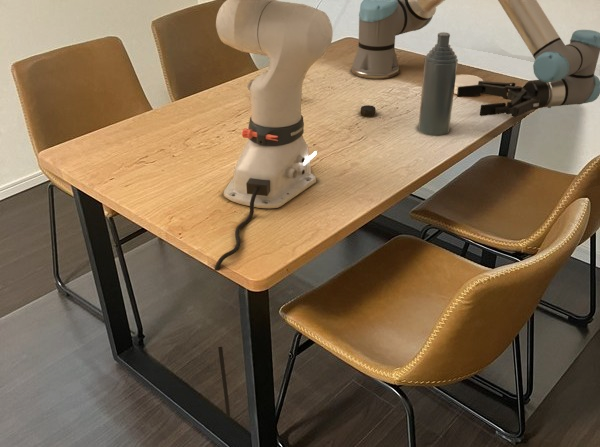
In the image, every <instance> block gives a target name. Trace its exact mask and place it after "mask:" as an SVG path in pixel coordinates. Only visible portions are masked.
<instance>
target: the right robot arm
mask: <svg viewBox="0 0 600 447" xmlns="http://www.w3.org/2000/svg"><path fill="white" fill-rule="evenodd" d="M445 1H446V0H362V1H361V3H360V4H359V5H360V6H359V11H358V45H357V46H358V47H357V50H356V54H355V56H354V59H353V62H352V65H351V72H352V74H353V75H355V76H357V77H359V78H363V79H369V80H370V79H371V80H384V79H390V78H392V77H395V76H397V75H398V74H399V71H400V66H399V65H400V64H399V62H398V57H397V53H396V50H395V48H396V47H395V45H396V36H399V35H404V34H407V33H410V32H414V31H415V32H416V31H419V30H421V29H424V28H425V27H426V26H428V25H429V24H430V22H431V21H432V19H433V16H435V14H436V11H437V8H438V7H439V6H440V5H441V4H443V3H444V2H445ZM497 1H498V3H499V4H500V6H501V7H502V9H503V11H504V12H505V14H506V16H507V17H508V19H509V20H510V22H511V24H512V25H513V26H514V29H515V30H516V32H517V33H518V35H519V37H520V39H521V40H522V41H523V43H524V44H525V46H526V47H527V49H528V50H529V52H530V54H531V55H532V57H533V59H534V61H533V65H532V68H533V69H532V70H533V74H534V76H535V77H536V79H532V80H528V81H527V82H526V83H525V84H524V85H523V86H519V85H516V82H500V81H499V82H498V81H484V80H483V81H479V82H478V85H472V86H461V87H458V92H457V94H456V97H457V98H465V97H475V96H477V97H480V96H481V95H487V96H494V97H500V98H502V99H503V100H508V101H507V103H506V102H497V103H496V102H495V103H488V104H487V103H486V104H480V109H479V116H480V117H485V116H495V115H503V114H505V115H507V116H508V115H511V117H512V118H517V117H520V116H521V115H524V114H525V113H528V112H531V111H535V110H538V109H542V108H548V109H551V108H552V107H561V106H572V105H573V106H574V105H583V104H584V105H585V104H589V103H593V102H594V101H596V100H597V99H598V98H599V97H600V78H599V77H598V76H597V75H595V72H596V69H597V65H598V61H599V56H600V32H599V31H596V30H592V29H577V30H575V31H574V32H572V34H571V38H570V39H569V43H567V44H565V43H564V41H563V39H562V38H561V36H560V35H559V34H558V32H557V30H556V29H555V27H554V26H553V24H552V23H551V21H550V19H549V18H548V16H547V15H546V13H545V11H544V10H543V8H542V7H541V4H540V3H539V2H538V1H537V0H497Z"/></svg>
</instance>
